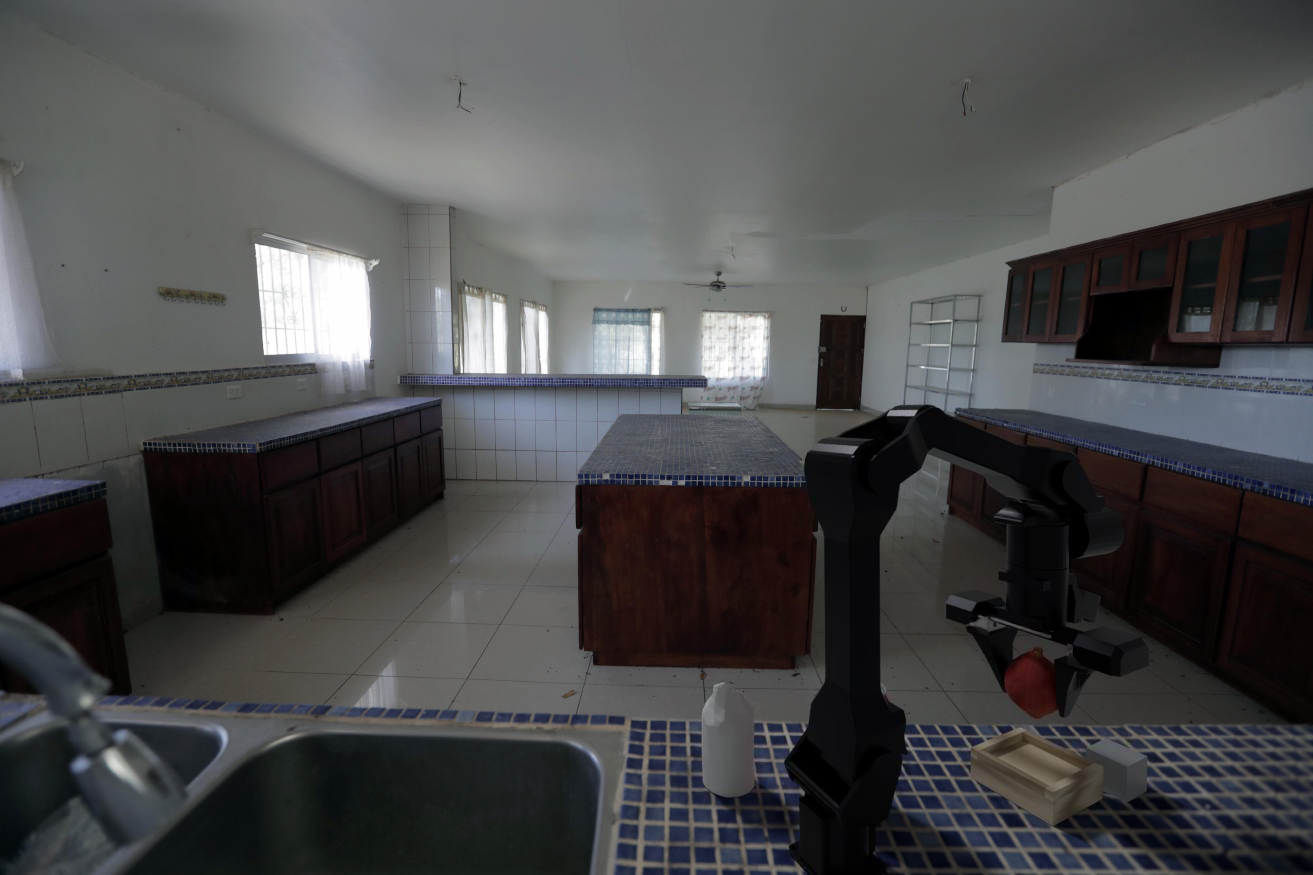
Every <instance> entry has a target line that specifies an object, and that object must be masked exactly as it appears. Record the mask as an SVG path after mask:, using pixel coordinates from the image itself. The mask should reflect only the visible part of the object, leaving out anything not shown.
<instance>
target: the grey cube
mask: <svg viewBox="0 0 1313 875" xmlns="http://www.w3.org/2000/svg"><path fill="white" fill-rule="evenodd" d="M1085 758H1086V759H1088V760H1090V761H1092V762H1094V763H1097V764H1099V765H1101V766H1103V767H1104V768H1103V792H1105V793H1107V794H1109V795H1111V796H1113V797H1115V798H1116V799H1119V800H1120V801H1122V802H1125V803H1126V804H1127V803H1128V802H1129V803H1130V802H1131V801H1132V800H1134V799H1136V798H1137V797H1140V795H1143V794H1144V793H1146V792H1147V791H1148V788H1147V787H1148V755H1146V754H1143V753H1140V752H1138V751H1136V750H1133V749H1131V748H1129V747H1127V746H1125V745H1122V744H1120V743H1117V742H1116V741H1113V740H1111V739H1108V738H1104V739H1101V740H1099V741H1097V742H1095V743H1093V744H1091V745H1090V746H1089V745H1088V746H1087V747H1085Z"/></svg>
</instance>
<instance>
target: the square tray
mask: <svg viewBox="0 0 1313 875" xmlns="http://www.w3.org/2000/svg"><path fill="white" fill-rule="evenodd" d="M1103 768H1104V767H1103V766H1101V765H1099V764H1097V763H1094V762H1092V761H1090V760H1088V759H1086V757H1084V756H1082V755H1079V754H1078V753H1075V752H1073V751H1072V750H1070V749H1067V748H1065V747H1063V746H1060V745H1058V744H1056V743H1054V742H1052V741H1050V740H1048V739H1046V738H1044V737H1042V736H1040V735H1037V734H1035V733H1033V732H1031V731H1029V730H1027V729H1025V728H1022V727H1016V728H1015V729H1012V730H1010V731H1007V732H1006V733H1003V734H1000V735H998V736H995V737H993V738H991V739H988V740H985V741H983V742H980V743H978V744H976V745H974V746H971V747H970V778H971V779H973V780H974V781H976V782H978V783H979V784H981V785H982V786H985V787H987V789H989V790H991V791H993V792H995V793H997V794H998V795H1000V796H1001V797H1003V798H1005V799H1007V801H1010V802H1011V803H1013V804H1014V805H1017V806H1018V807H1020V808H1021V809H1023V810H1025V811H1026V812H1028V813H1030V814H1031V815H1033V816H1035V817H1037V818H1039V819H1040V820H1042V821H1043V822H1045V823H1047V824H1048V825H1050V826H1051V827H1054V826H1056V825H1057V824H1060V823H1061V822H1063V821H1065V820H1067V819H1069V818H1071V817H1072V816H1074V815H1076V814H1077V813H1079V812H1081V811H1084V810H1085V809H1086V808H1089V807H1091V806H1092V805H1093V804H1095V803H1097V802H1099V801H1101V800H1102V799H1104V791H1103Z"/></svg>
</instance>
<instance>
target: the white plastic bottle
mask: <svg viewBox="0 0 1313 875" xmlns="http://www.w3.org/2000/svg"><path fill="white" fill-rule="evenodd" d="M712 690H713V692H711V696H709V698H708V699H707V700H706V702H704V703H705V704H704V707H703V709H702V711H701V764H702V766H701V767H702V784H703V785H704V787H705V788H706V789H707V790H709V791H710V792H711V793H714V795H718V796H720V797H724V798H739V797H743V796H746V795H747V794H749V793H751V791H753V789H754V788H755V712H754V711H755V710H754V707H753V705H752V703H750V702H749V701H748V699H746V698H745V696H744V695H743V694H742V693H741V692H740V691H738V690H736V688H735V687H731V686H729V685H727V683H725V682H720V683H716V684H714V685H713V688H712Z"/></svg>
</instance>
